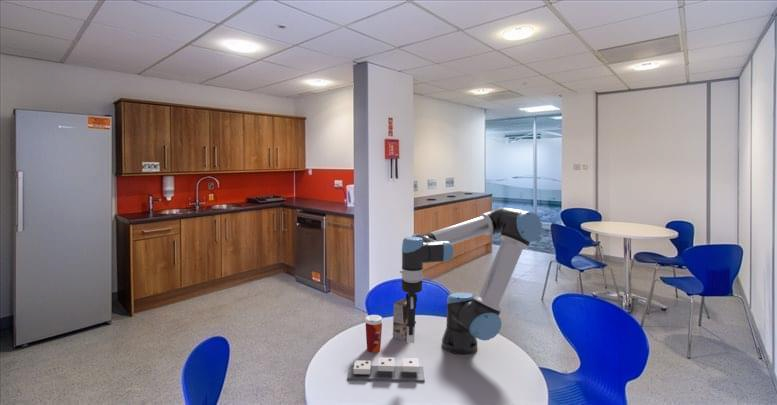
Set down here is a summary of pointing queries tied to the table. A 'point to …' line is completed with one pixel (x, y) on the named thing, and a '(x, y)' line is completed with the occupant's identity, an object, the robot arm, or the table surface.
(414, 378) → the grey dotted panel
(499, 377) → the table surface
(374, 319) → the paper cup
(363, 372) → the tile
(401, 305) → the coffee box
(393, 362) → the tile
